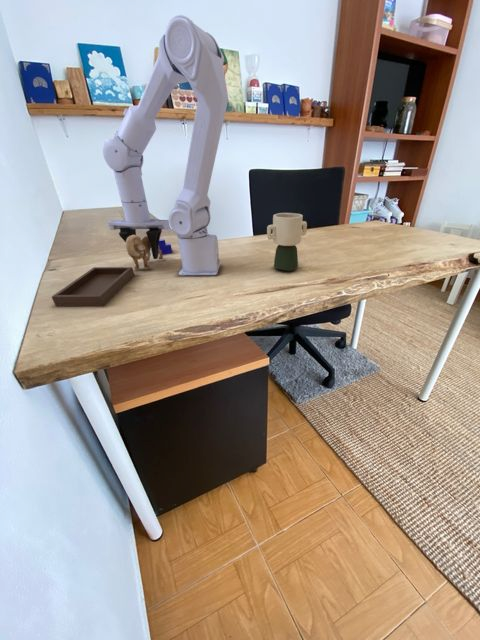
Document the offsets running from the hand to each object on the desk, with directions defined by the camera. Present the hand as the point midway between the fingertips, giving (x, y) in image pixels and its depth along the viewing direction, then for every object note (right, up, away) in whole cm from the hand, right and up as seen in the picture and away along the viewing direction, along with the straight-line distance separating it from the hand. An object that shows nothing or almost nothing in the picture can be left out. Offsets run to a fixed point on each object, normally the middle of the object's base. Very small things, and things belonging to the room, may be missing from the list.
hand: (147, 257), depth 78 cm
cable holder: (0, +6, +13) cm, 14 cm away
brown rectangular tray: (-6, -11, -12) cm, 17 cm away
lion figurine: (0, -2, +1) cm, 2 cm away
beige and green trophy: (+37, -3, -1) cm, 37 cm away
